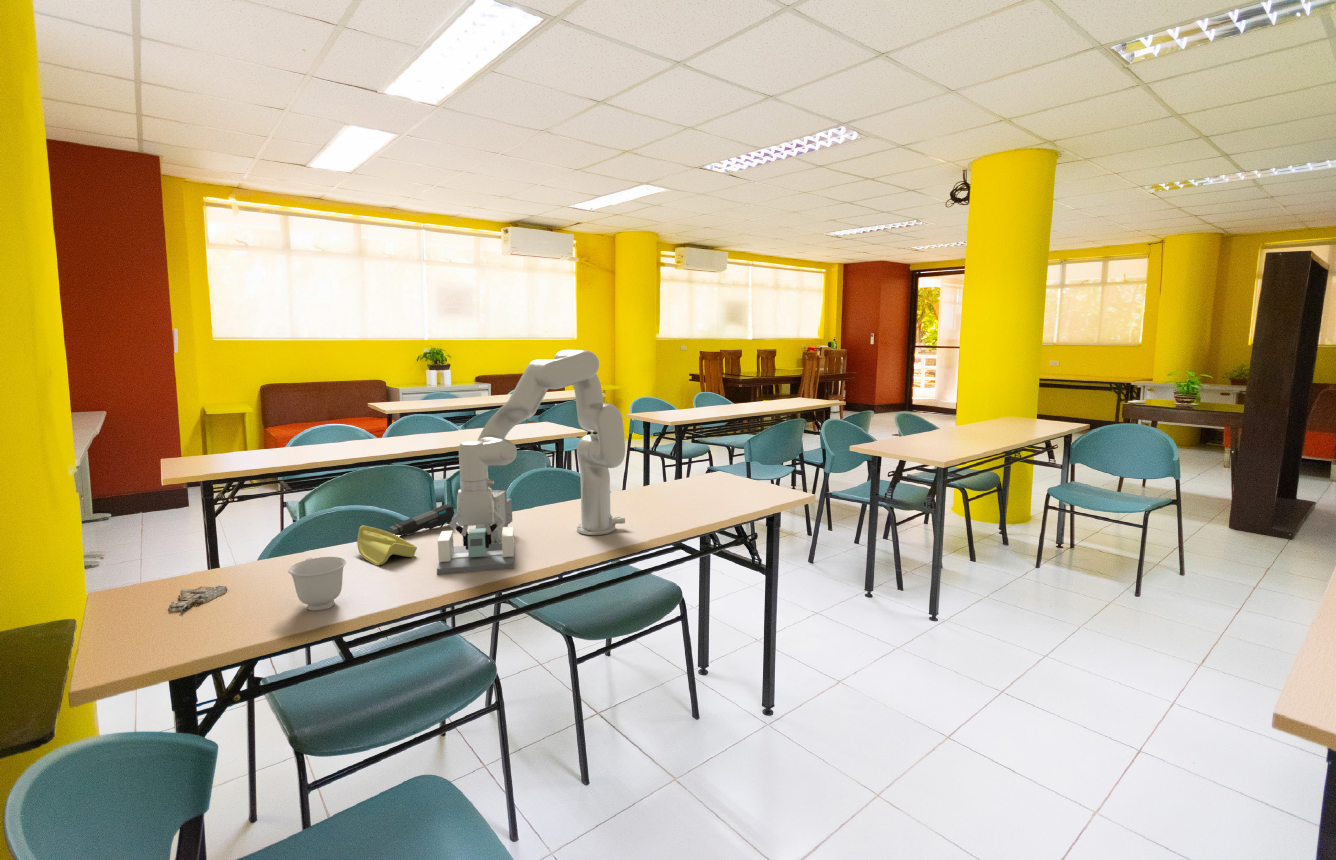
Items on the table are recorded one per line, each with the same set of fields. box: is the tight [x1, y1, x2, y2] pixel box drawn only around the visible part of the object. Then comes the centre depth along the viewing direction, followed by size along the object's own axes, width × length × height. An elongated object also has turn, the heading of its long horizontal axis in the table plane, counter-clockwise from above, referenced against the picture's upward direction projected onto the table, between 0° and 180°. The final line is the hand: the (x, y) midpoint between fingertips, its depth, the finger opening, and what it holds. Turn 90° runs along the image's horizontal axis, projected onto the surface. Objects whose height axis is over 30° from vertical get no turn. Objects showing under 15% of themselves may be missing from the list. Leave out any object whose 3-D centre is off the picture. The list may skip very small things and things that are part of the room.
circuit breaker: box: [474, 489, 513, 544], centre depth 201 cm, size 8×14×15 cm, turn 174°
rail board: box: [436, 526, 516, 575], centre depth 181 cm, size 20×18×8 cm
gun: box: [389, 504, 455, 536], centre depth 208 cm, size 4×20×10 cm, turn 134°
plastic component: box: [356, 524, 418, 566], centre depth 186 cm, size 20×7×10 cm
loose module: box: [468, 528, 487, 557], centre depth 180 cm, size 4×7×6 cm, turn 13°
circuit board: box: [168, 585, 228, 614], centre depth 154 cm, size 12×15×2 cm
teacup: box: [287, 556, 347, 611], centre depth 151 cm, size 12×15×10 cm
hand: (477, 546), depth 181 cm, fingers open, 4 cm apart
